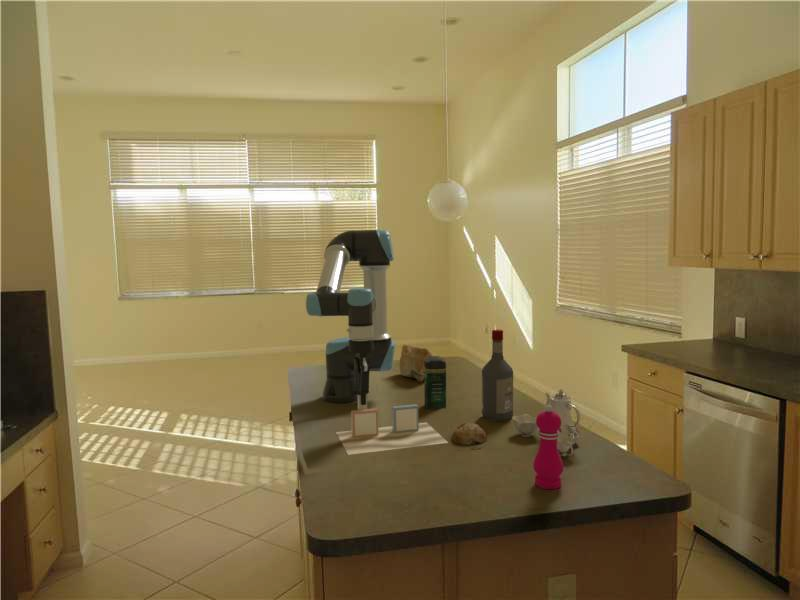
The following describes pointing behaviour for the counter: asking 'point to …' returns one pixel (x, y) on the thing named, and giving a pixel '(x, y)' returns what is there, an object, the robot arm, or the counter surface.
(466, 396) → the counter surface
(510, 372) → the liquor
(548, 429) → the pepper mill
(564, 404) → the chinaware
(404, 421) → the tile blue
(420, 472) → the counter surface
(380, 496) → the counter surface
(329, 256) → the robot arm
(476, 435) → the bread roll
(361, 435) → the pink square tile
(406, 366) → the rough brown rock
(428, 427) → the board
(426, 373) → the coffee jar
